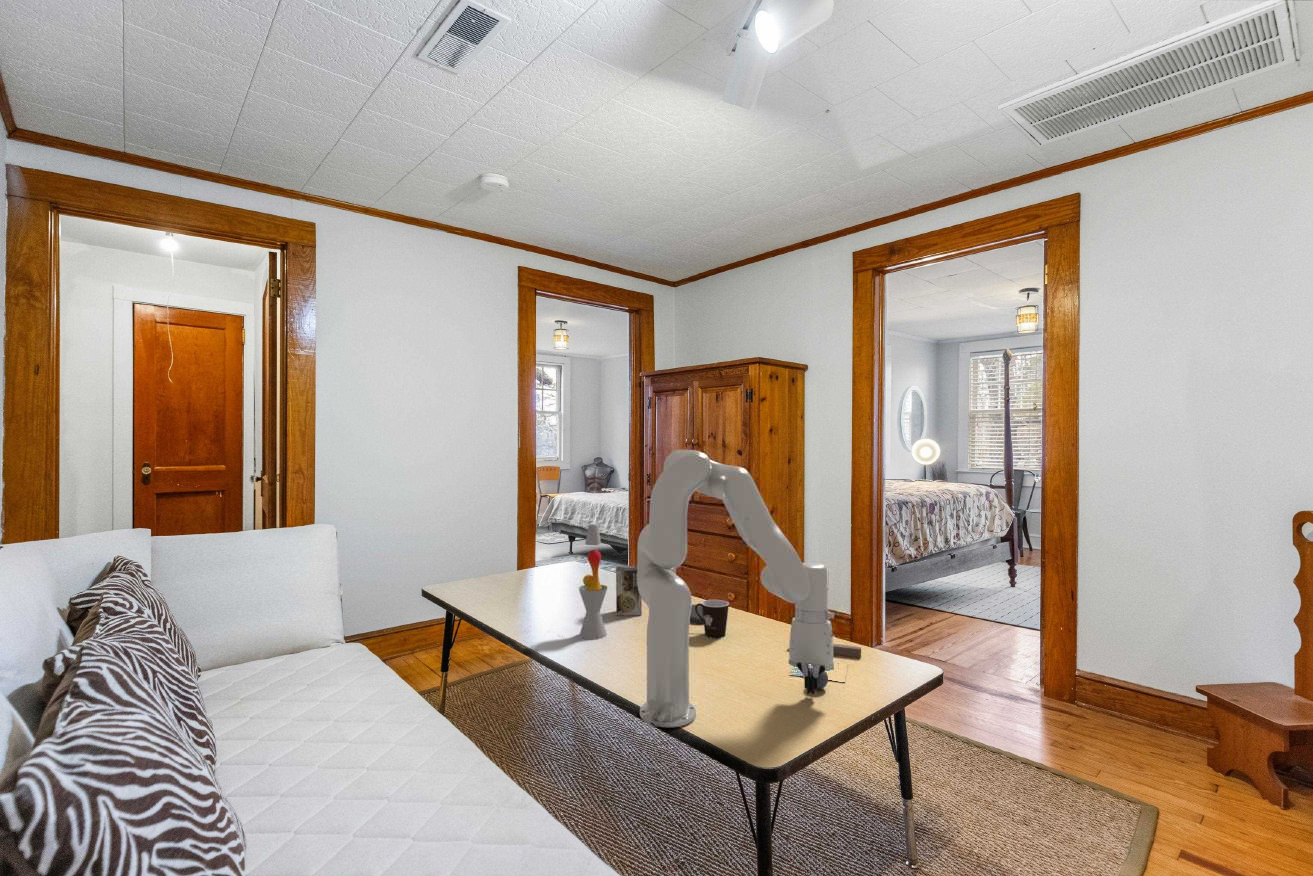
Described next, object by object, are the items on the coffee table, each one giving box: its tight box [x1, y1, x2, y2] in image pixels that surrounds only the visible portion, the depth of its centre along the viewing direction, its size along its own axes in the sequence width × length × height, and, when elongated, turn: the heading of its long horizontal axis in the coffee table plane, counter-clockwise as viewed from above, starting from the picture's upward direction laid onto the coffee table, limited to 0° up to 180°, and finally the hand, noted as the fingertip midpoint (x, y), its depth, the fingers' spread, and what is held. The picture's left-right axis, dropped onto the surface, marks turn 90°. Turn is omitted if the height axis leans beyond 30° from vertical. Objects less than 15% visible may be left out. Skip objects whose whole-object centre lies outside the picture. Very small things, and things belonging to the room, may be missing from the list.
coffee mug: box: [695, 599, 730, 639], centre depth 195 cm, size 12×9×10 cm
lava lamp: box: [578, 523, 608, 640], centre depth 193 cm, size 9×9×35 cm
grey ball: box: [810, 668, 829, 690], centre depth 152 cm, size 5×5×5 cm
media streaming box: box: [690, 604, 704, 625], centre depth 213 cm, size 15×15×3 cm
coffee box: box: [615, 565, 643, 616], centre depth 217 cm, size 9×6×16 cm
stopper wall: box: [789, 640, 862, 658], centre depth 177 cm, size 2×20×2 cm, turn 69°
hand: (811, 691), depth 147 cm, fingers closed
